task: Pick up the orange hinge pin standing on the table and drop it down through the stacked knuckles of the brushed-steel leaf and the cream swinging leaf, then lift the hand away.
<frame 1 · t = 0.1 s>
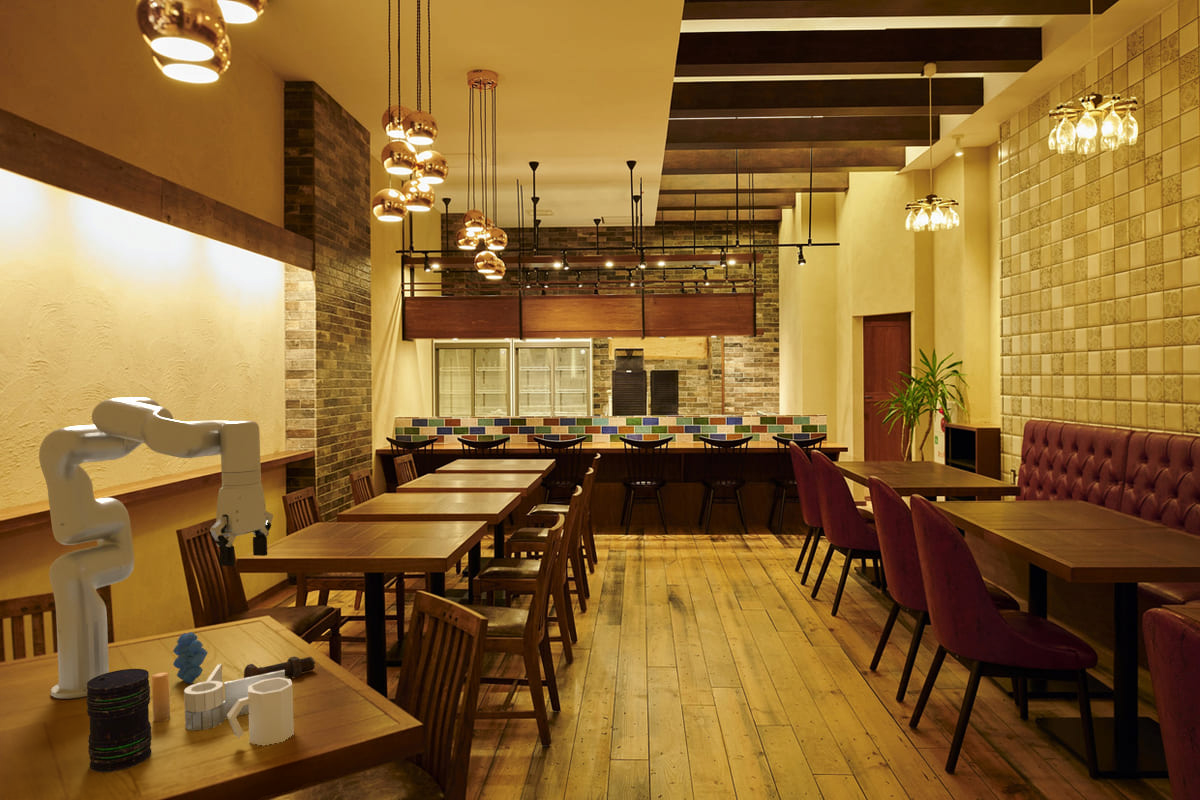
hand: (244, 560, 165), 31 cm above the table, tool pointing down, fingers open, 9 cm apart
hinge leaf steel: (205, 723, 158), on the table
hinge pin: (161, 718, 161), on the table
bolt: (281, 681, 181), on the table
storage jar: (121, 760, 143), on the table
grapes: (193, 682, 181), on the table
hinge leaf cream: (210, 694, 163), point 4 cm above the table, hinge at 0.0°
mug: (262, 740, 150), on the table
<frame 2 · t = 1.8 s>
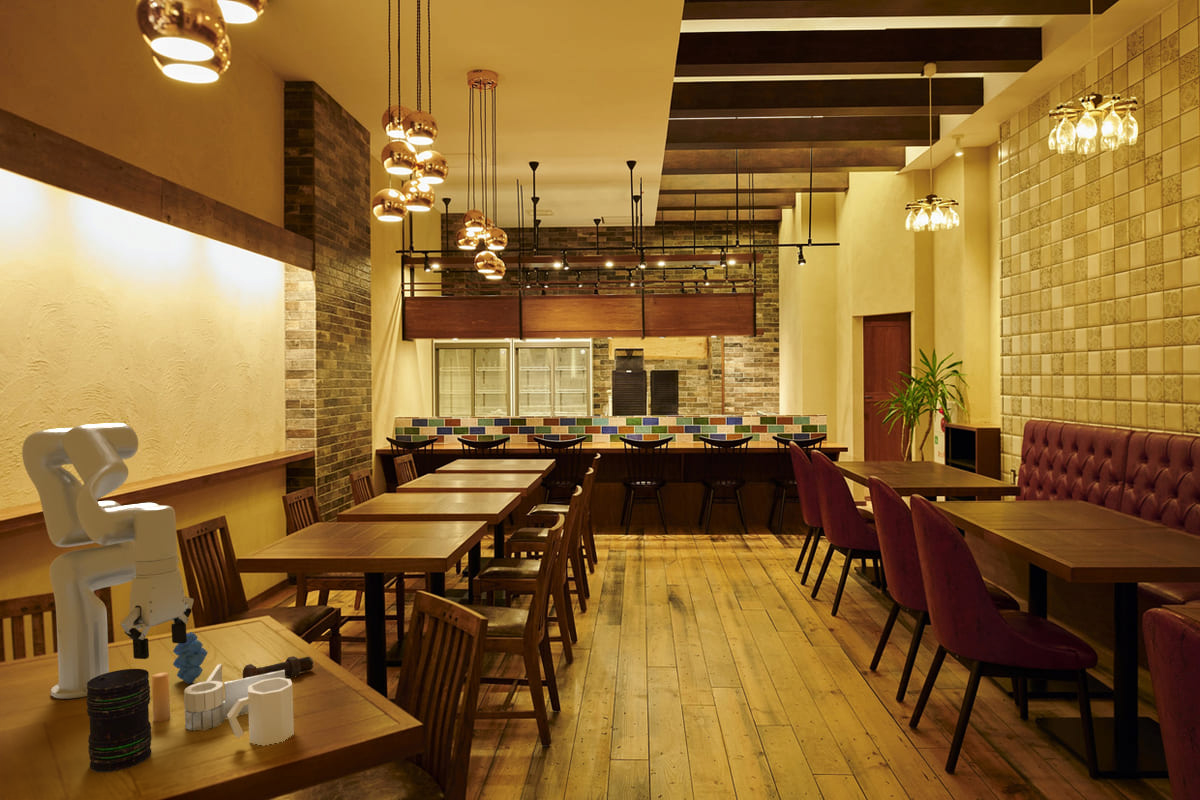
hand: (161, 650, 160), 14 cm above the table, tool pointing down, fingers open, 9 cm apart
nothing on the table moved.
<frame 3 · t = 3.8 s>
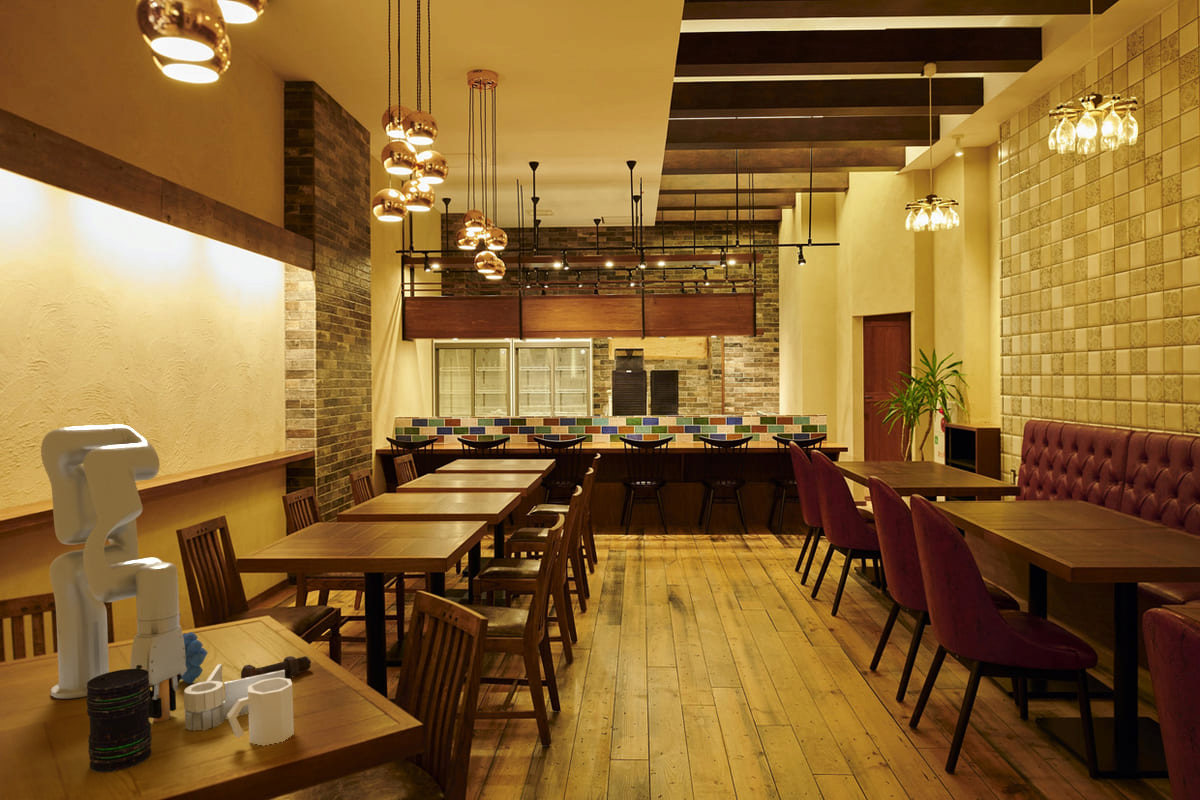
hand: (161, 712, 161), 1 cm above the table, tool pointing down, fingers closed on hinge pin, 3 cm apart
hinge pin: (161, 718, 161), on the table, touching gripper
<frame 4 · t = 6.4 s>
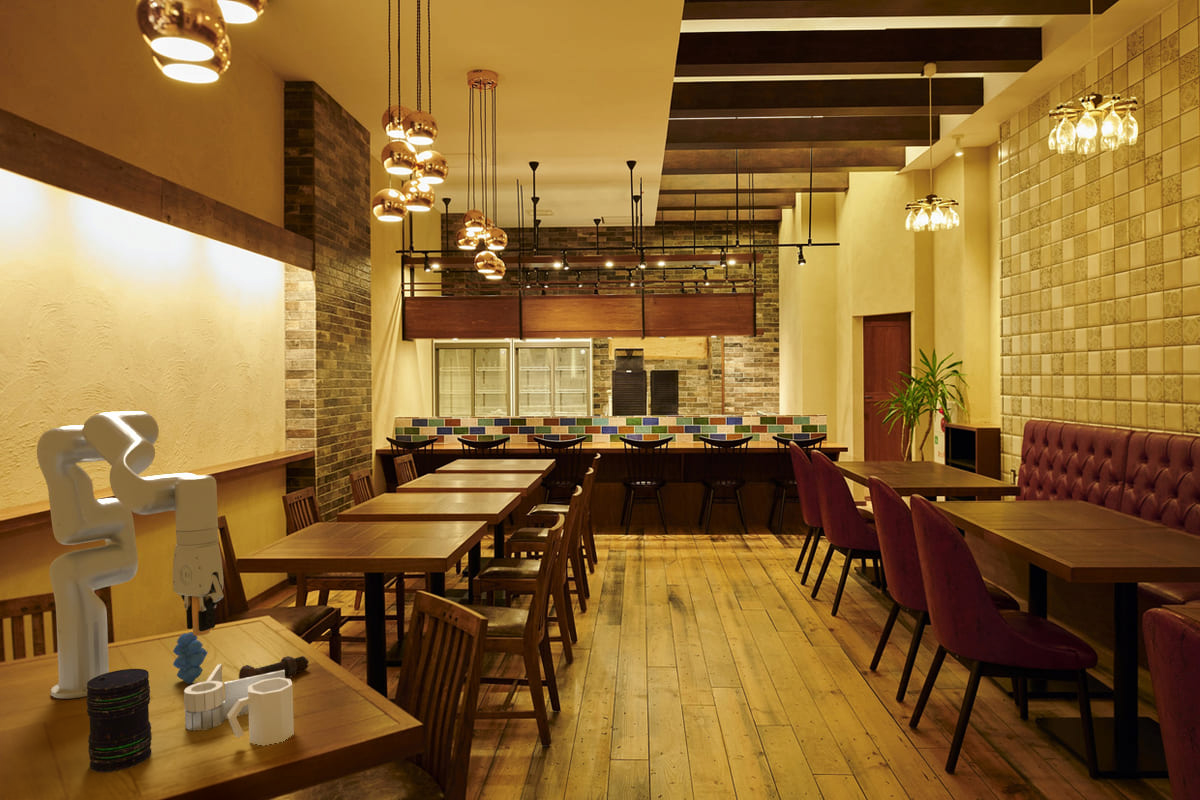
hand: (201, 627, 158), 19 cm above the table, tool pointing down, fingers closed on hinge pin, 3 cm apart
hinge pin: (201, 633, 158), point 18 cm above the table, touching gripper
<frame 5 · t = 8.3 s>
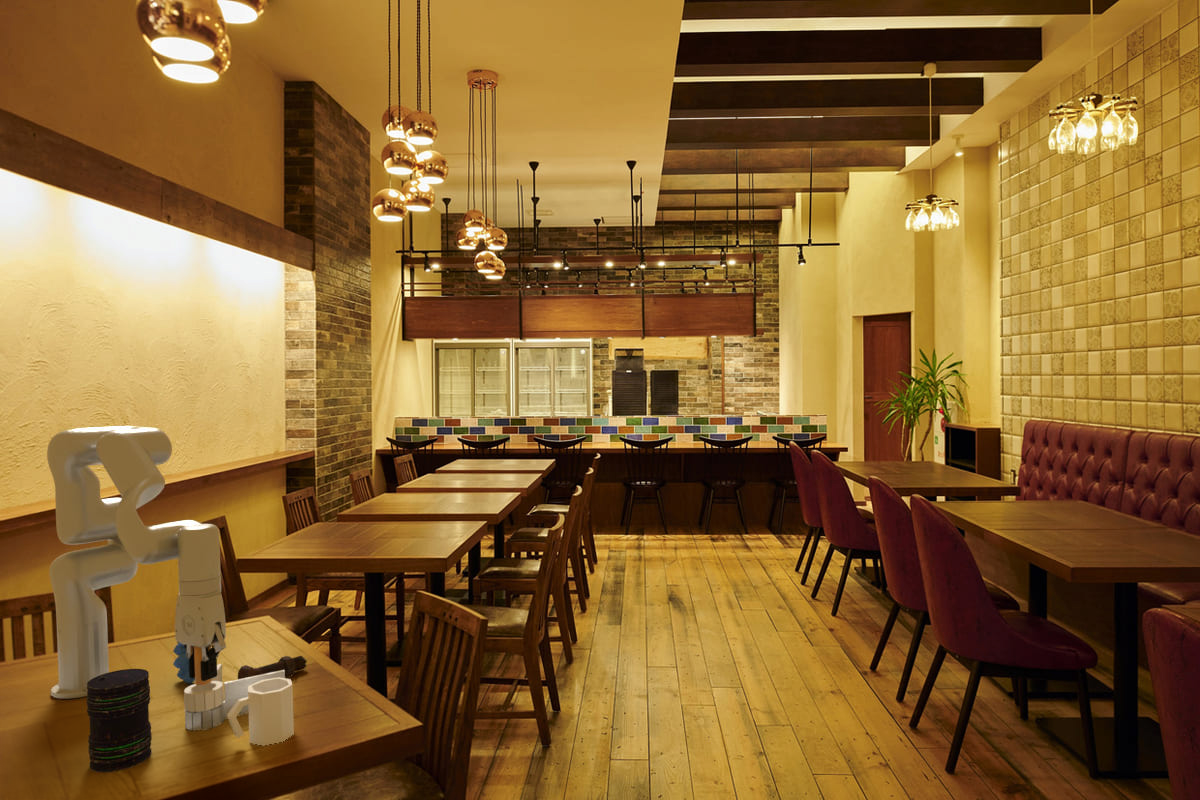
hand: (203, 676, 158), 10 cm above the table, tool pointing down, fingers closed on hinge pin, 3 cm apart
hinge pin: (203, 682, 158), point 8 cm above the table, touching gripper
when the fingers open (9 cm above the table, at t = 9.4 s): hinge pin drops 8 cm, resting in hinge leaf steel.
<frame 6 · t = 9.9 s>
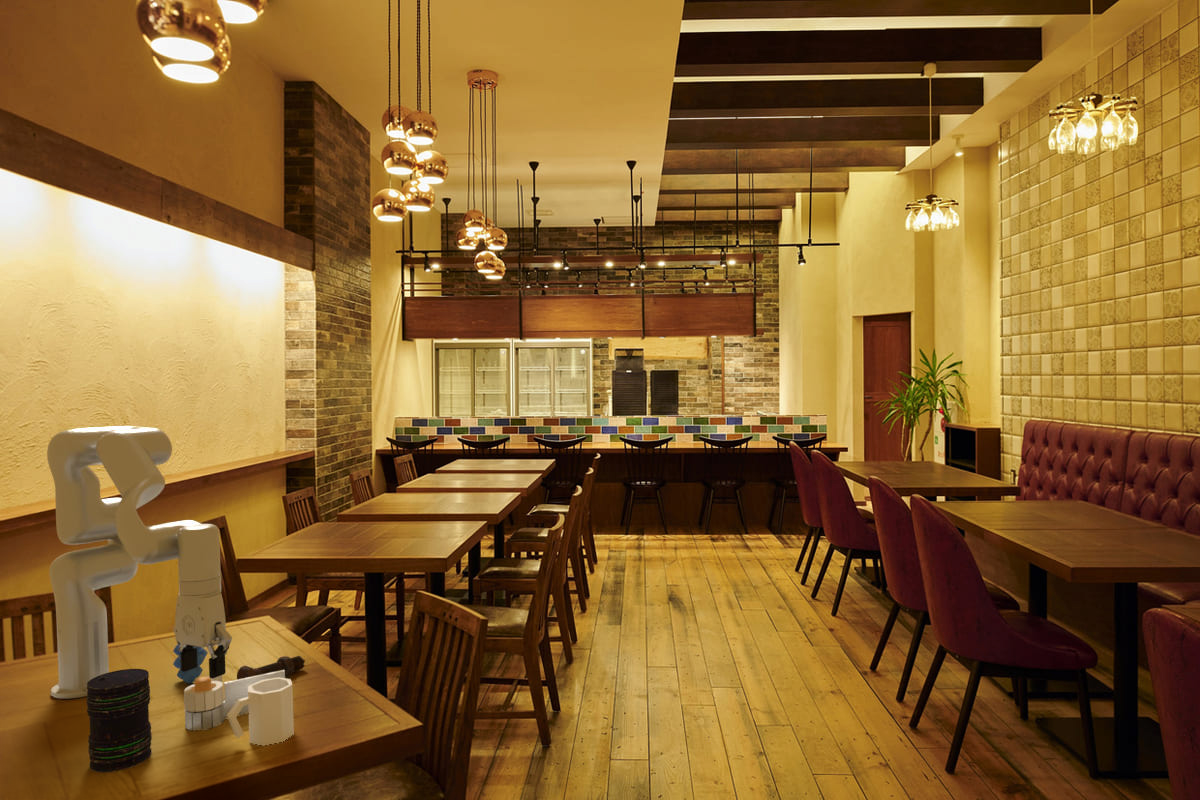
hand: (203, 672, 158), 10 cm above the table, tool pointing down, fingers open, 8 cm apart
hinge pin: (205, 722, 158), resting in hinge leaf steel
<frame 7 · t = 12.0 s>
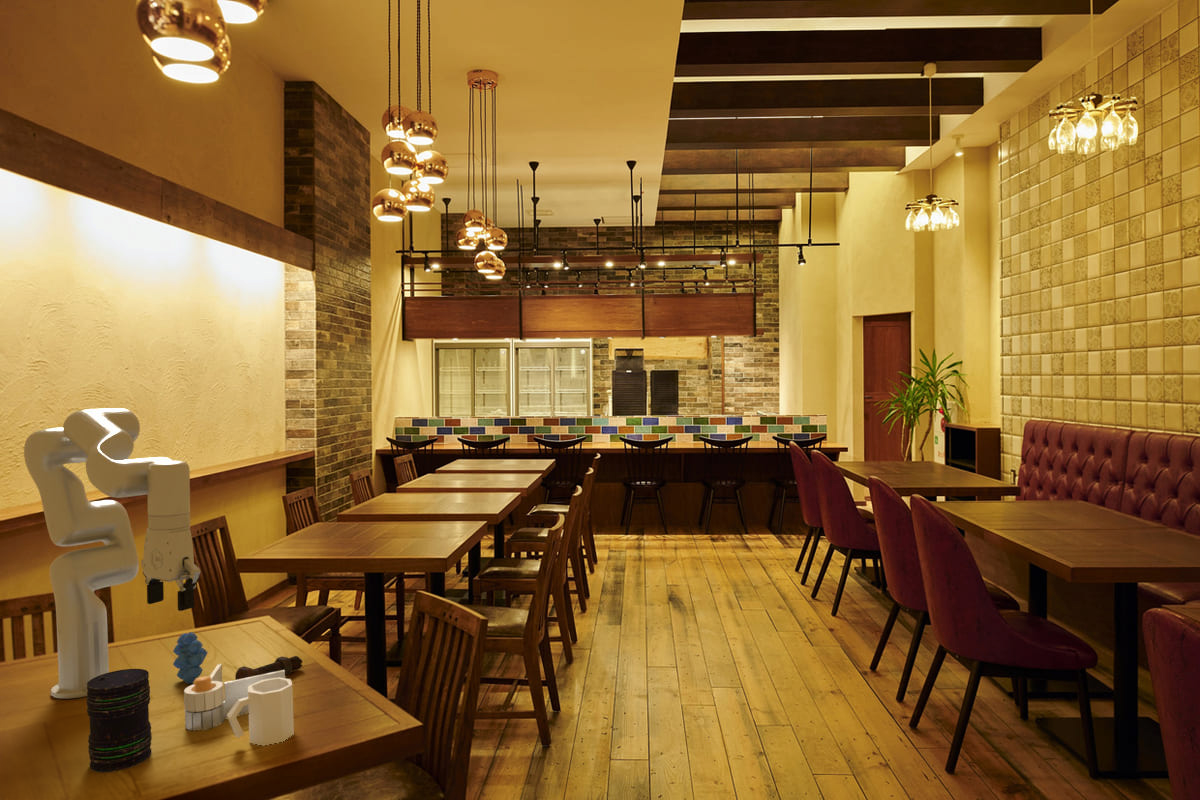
hand: (170, 605, 159), 24 cm above the table, tool pointing down, fingers open, 9 cm apart
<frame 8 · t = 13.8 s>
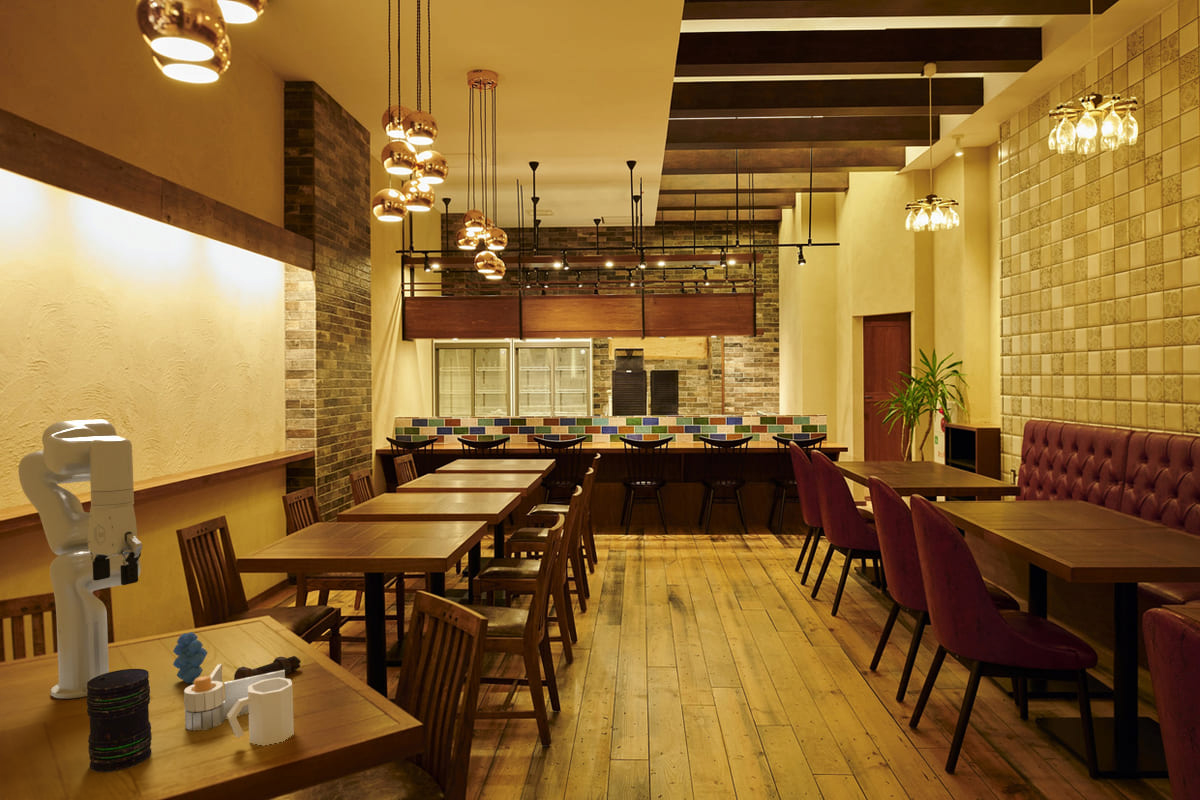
hand: (115, 581, 161), 28 cm above the table, tool pointing down, fingers open, 9 cm apart
at the end: hinge pin 0.1 cm from the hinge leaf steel (horizontally); hinge pin resting in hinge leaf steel; the gripper is holding nothing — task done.
